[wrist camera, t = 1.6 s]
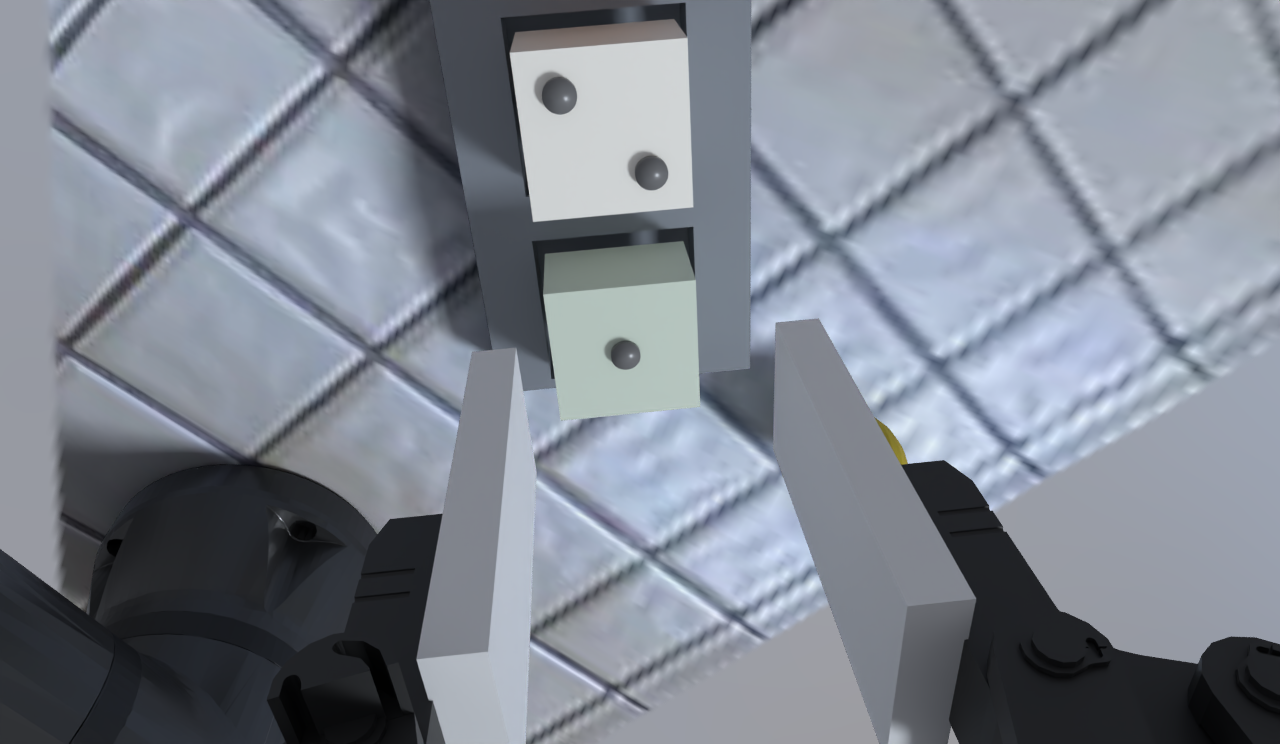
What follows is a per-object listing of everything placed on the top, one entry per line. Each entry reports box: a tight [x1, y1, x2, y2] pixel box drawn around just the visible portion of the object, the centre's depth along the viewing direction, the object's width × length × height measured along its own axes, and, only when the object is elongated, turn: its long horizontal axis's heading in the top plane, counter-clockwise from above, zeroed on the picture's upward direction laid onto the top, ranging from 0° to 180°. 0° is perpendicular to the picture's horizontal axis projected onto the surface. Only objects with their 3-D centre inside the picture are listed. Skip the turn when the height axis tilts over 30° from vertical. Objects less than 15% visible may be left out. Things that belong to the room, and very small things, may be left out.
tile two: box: [510, 19, 693, 222], centre depth 32 cm, size 6×6×4 cm
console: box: [429, 0, 751, 391], centre depth 35 cm, size 12×26×3 cm, turn 4°
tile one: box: [543, 241, 700, 421], centre depth 36 cm, size 6×6×4 cm
